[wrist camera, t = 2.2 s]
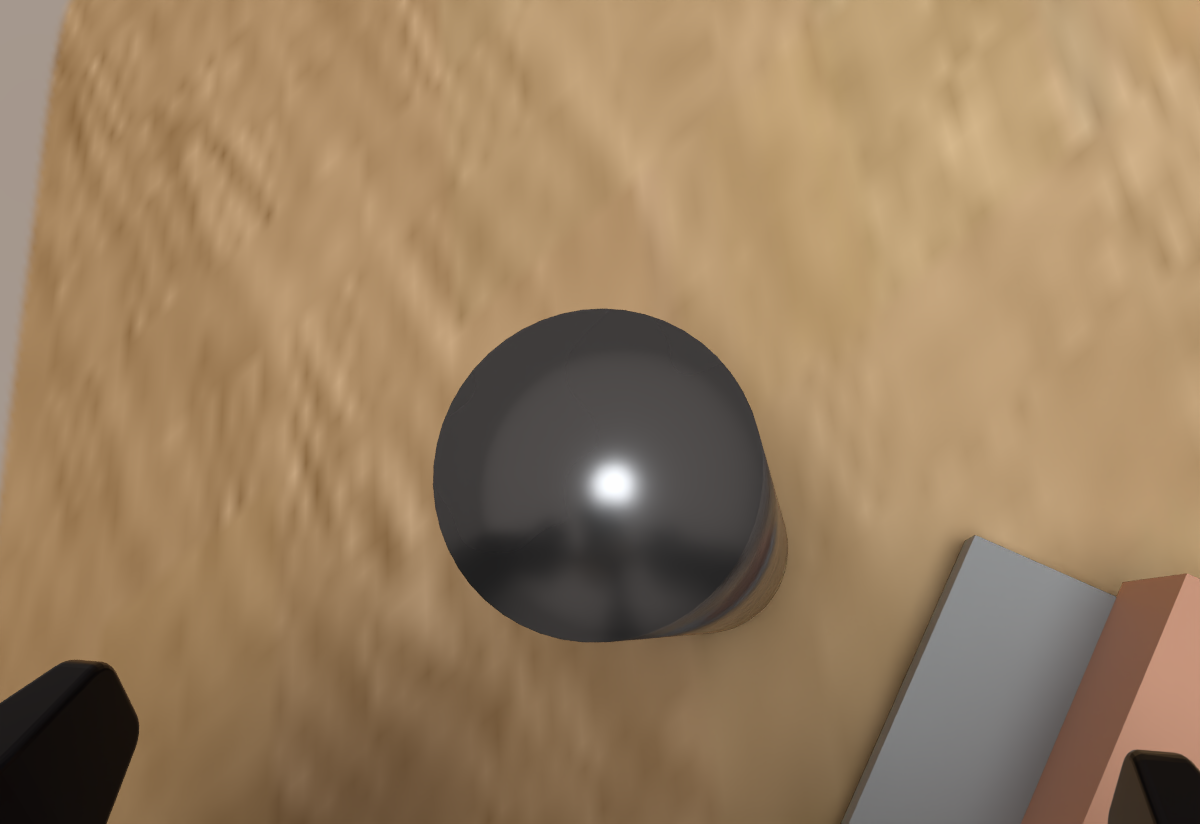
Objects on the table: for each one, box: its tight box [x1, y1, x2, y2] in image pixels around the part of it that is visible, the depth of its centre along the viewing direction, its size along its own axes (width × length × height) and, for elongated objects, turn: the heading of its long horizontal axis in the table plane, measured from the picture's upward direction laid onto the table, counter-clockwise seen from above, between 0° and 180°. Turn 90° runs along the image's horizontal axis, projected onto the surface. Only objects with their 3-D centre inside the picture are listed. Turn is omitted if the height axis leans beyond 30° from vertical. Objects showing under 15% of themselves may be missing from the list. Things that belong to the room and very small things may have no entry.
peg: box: [433, 309, 788, 642], centre depth 15 cm, size 3×3×10 cm
